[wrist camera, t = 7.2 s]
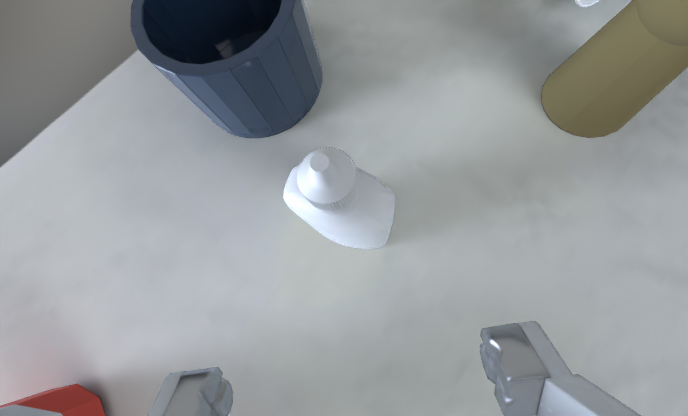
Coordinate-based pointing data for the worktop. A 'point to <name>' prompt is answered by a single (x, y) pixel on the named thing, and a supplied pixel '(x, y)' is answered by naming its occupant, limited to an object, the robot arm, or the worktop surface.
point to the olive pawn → (619, 68)
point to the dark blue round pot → (234, 58)
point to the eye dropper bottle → (341, 199)
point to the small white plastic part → (586, 2)
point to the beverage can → (56, 403)
